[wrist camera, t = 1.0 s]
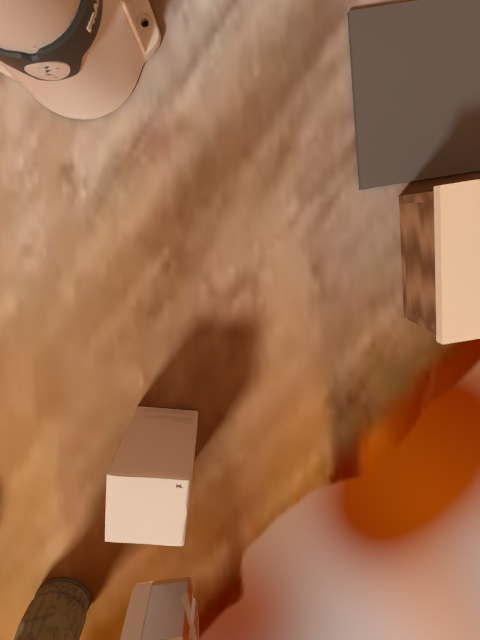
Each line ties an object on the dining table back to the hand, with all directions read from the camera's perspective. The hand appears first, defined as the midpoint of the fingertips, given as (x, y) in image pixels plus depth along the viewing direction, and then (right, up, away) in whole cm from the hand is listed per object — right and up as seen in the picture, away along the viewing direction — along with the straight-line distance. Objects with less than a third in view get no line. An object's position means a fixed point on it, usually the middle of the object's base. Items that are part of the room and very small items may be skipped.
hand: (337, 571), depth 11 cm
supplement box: (-13, -10, +45) cm, 48 cm away
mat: (+20, +34, +35) cm, 53 cm away
